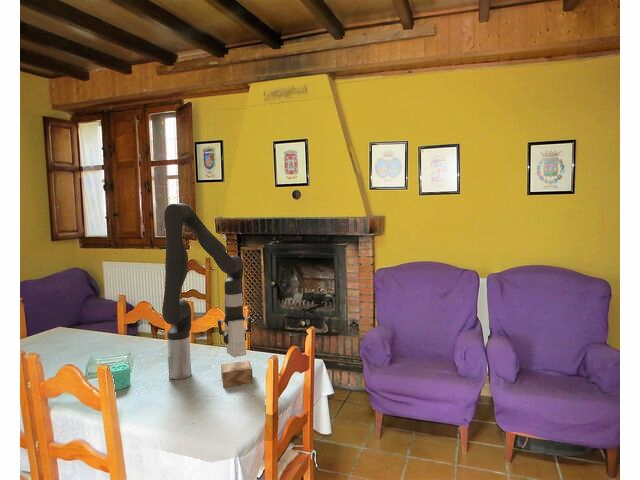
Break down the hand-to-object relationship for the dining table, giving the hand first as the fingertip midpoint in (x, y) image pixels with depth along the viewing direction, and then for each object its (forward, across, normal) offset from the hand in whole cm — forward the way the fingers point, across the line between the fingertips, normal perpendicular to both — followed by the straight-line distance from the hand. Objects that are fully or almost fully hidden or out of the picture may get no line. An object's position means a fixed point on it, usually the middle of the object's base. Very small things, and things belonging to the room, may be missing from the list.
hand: (235, 342), depth 176 cm
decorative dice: (+17, -47, +11) cm, 51 cm away
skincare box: (+5, 0, 0) cm, 5 cm away
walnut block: (+16, 0, 0) cm, 16 cm away
